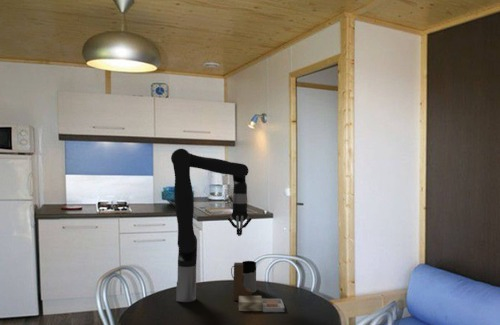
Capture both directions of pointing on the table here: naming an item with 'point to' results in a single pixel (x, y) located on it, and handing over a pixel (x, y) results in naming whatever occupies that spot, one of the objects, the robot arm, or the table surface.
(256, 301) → the beige patterned box
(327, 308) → the table surface
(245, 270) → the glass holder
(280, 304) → the tray
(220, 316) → the table surface
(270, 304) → the tile
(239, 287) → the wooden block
